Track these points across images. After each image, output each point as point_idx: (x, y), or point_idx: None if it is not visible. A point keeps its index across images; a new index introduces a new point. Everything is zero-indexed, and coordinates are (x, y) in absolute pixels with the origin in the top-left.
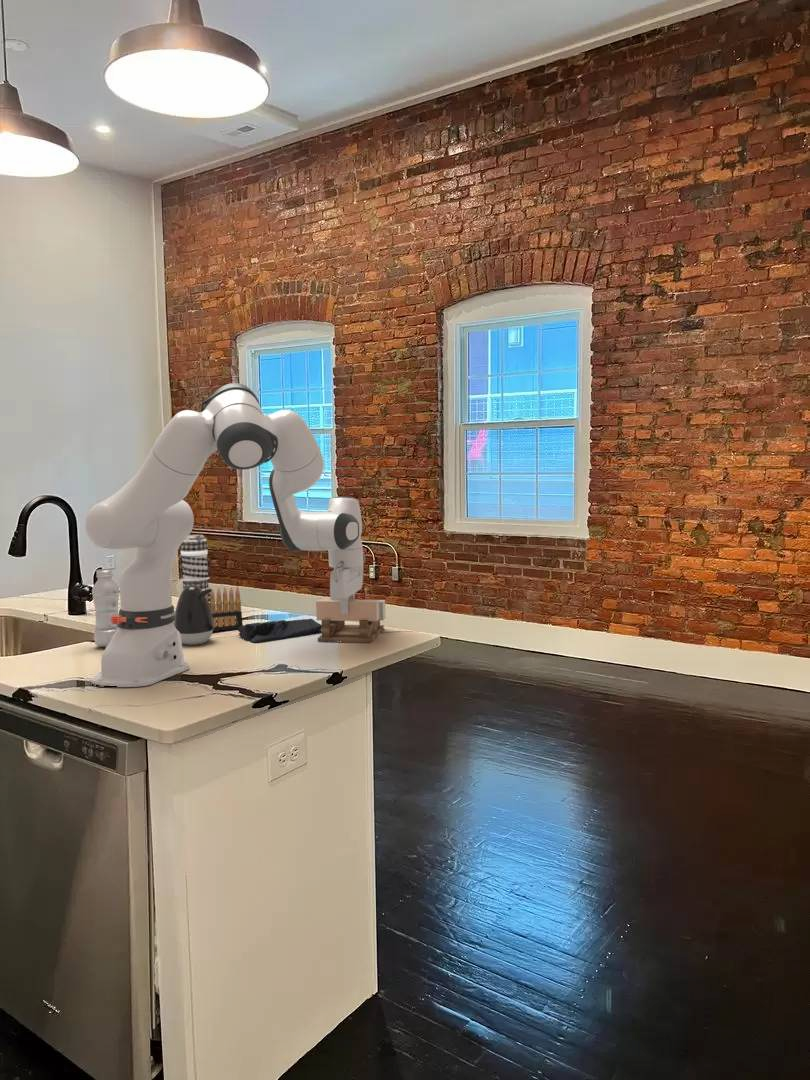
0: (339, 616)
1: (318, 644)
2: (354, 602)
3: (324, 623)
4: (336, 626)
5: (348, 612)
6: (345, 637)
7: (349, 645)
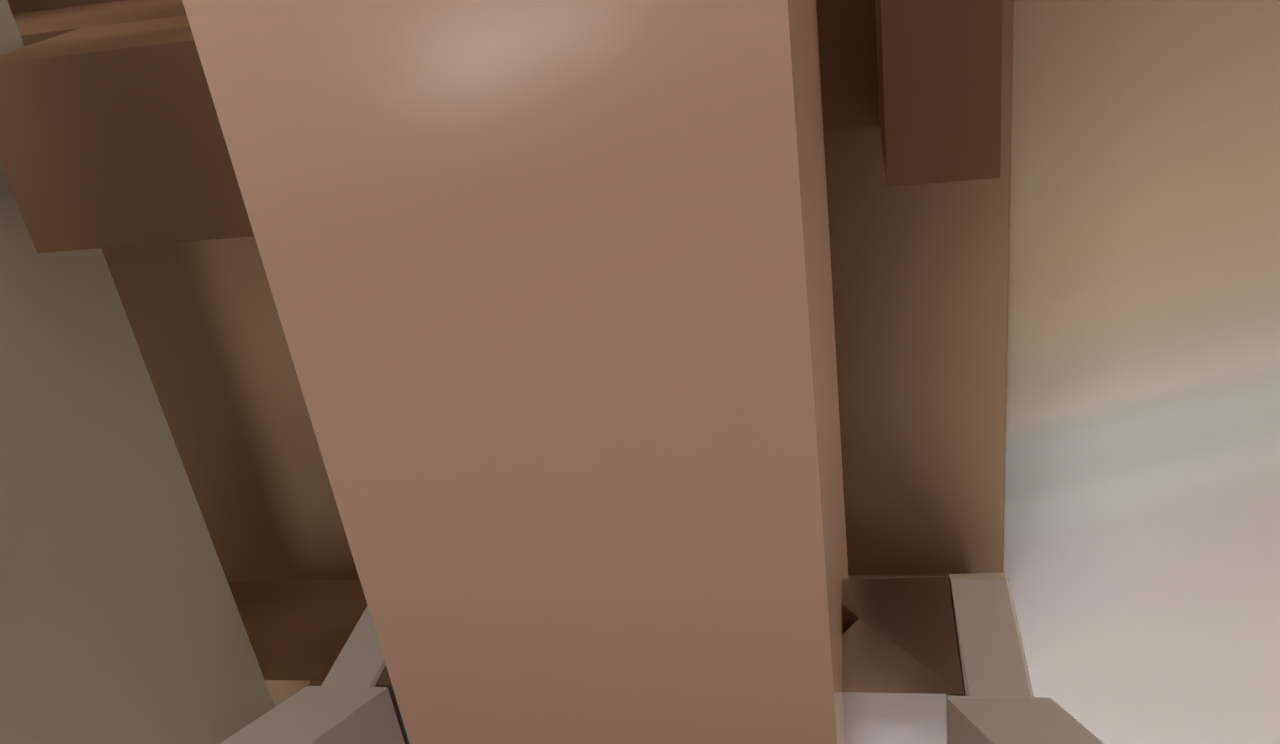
0: None
1: (1152, 629)
2: (826, 643)
3: None
4: None
5: (942, 579)
6: (912, 345)
7: (1234, 154)
